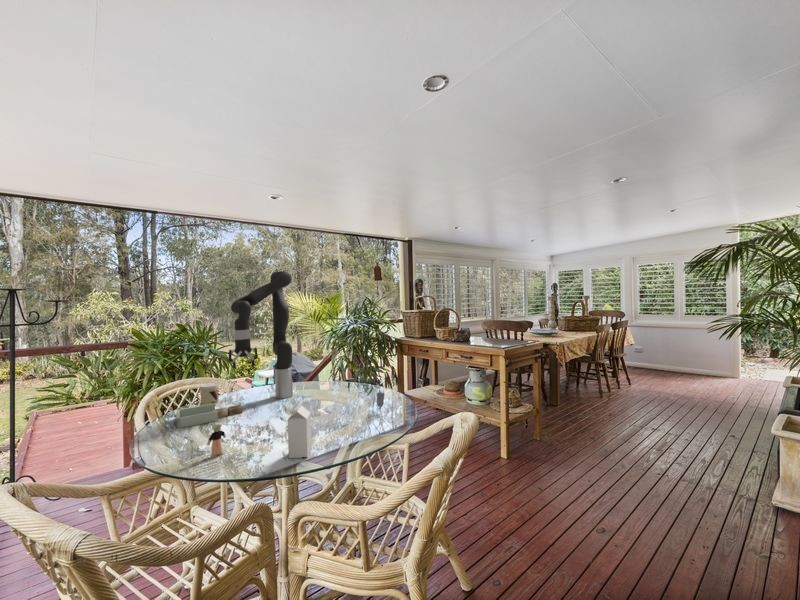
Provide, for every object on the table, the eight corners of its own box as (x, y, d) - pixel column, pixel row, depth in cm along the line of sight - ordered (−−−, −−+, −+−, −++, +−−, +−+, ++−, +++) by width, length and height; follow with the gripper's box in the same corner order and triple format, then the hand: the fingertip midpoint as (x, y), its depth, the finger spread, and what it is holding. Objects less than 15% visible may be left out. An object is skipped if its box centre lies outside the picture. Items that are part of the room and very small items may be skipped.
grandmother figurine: (214, 459, 133) (213, 426, 133) (206, 458, 134) (204, 425, 134) (229, 450, 141) (228, 419, 140) (221, 449, 142) (220, 418, 141)
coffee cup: (213, 408, 192) (212, 387, 192) (196, 409, 192) (195, 387, 192) (222, 403, 201) (221, 382, 201) (206, 403, 202) (205, 382, 201)
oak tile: (226, 412, 186) (226, 407, 186) (227, 416, 181) (227, 410, 181) (213, 415, 183) (213, 409, 183) (214, 418, 178) (214, 412, 178)
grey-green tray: (214, 411, 187) (214, 403, 187) (217, 420, 174) (217, 411, 174) (177, 418, 178) (176, 409, 178) (177, 428, 165) (176, 418, 165)
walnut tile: (240, 410, 190) (240, 404, 190) (242, 413, 185) (242, 407, 185) (228, 412, 186) (228, 407, 186) (230, 415, 181) (229, 410, 181)
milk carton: (311, 449, 140) (310, 402, 140) (307, 458, 133) (306, 408, 133) (293, 450, 140) (292, 402, 140) (288, 458, 133) (287, 408, 132)
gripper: (256, 336, 195) (257, 365, 196) (228, 338, 189) (229, 368, 190) (257, 337, 188) (258, 367, 189) (227, 340, 182) (229, 371, 183)
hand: (243, 367), depth 189 cm, fingers open, 8 cm apart
